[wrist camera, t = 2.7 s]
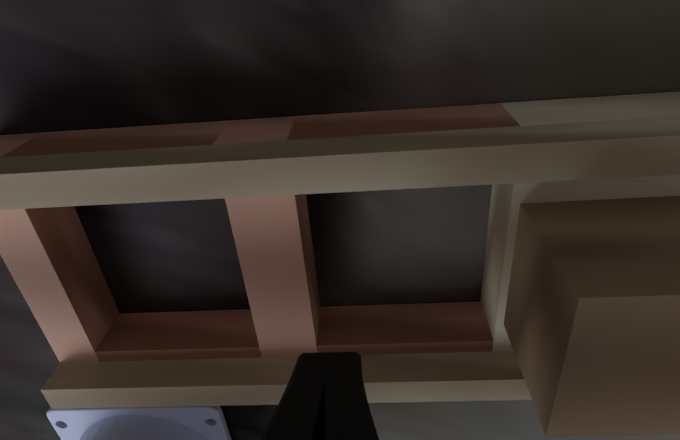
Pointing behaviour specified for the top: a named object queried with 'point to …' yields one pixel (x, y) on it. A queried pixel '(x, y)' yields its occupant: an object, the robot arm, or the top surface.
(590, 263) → the walnut block
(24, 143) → the trap lane
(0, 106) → the top surface
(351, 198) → the top surface
